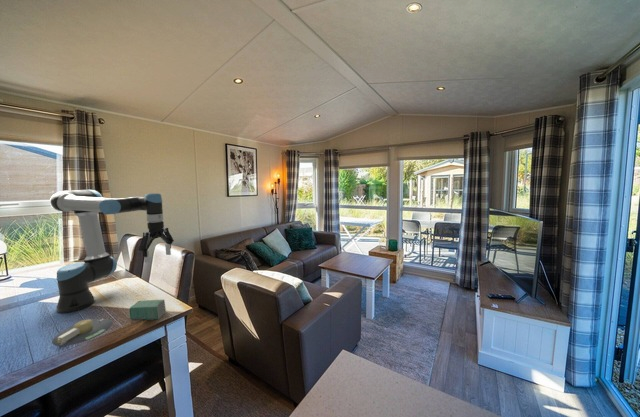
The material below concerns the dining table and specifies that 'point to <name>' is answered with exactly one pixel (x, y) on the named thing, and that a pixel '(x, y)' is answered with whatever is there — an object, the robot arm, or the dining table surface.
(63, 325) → the dining table surface
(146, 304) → the box
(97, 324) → the plate
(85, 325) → the round-headed handle
